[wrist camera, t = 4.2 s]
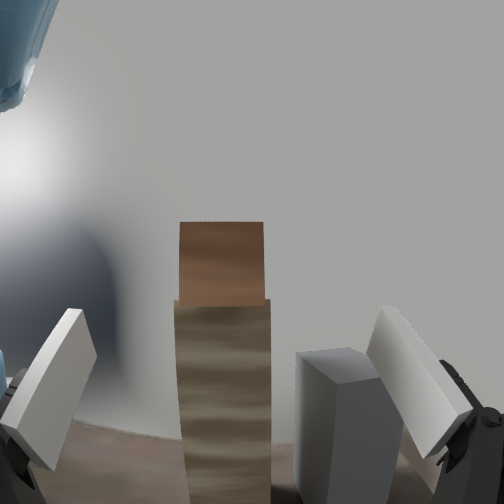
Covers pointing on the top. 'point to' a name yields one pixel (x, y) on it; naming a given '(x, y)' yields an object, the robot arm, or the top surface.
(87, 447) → the top surface
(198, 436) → the tall stand
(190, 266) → the bar
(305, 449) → the low stand
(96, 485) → the top surface
